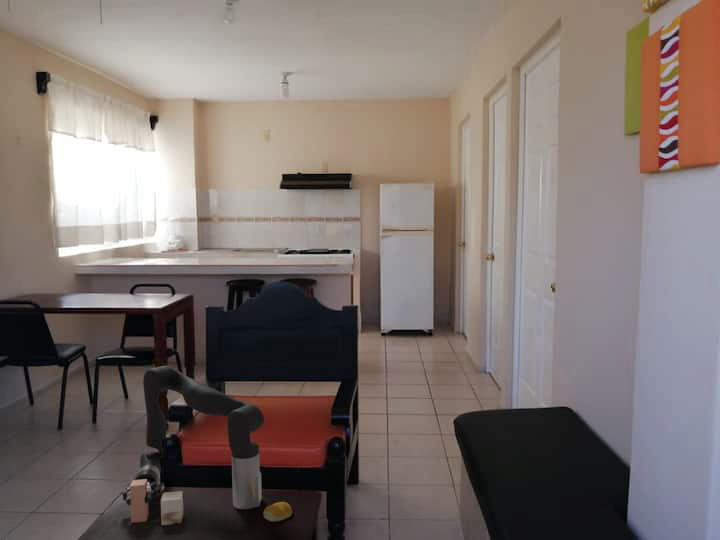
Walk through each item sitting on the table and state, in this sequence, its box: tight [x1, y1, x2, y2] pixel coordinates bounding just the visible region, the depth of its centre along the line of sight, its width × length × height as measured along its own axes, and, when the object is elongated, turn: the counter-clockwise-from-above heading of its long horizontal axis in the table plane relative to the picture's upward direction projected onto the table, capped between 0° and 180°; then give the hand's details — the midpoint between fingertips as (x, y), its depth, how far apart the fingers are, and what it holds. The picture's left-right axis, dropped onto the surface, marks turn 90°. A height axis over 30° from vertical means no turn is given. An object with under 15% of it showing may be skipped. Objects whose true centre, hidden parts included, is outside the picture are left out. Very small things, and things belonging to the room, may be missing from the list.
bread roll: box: [263, 501, 293, 523], centre depth 184 cm, size 8×9×4 cm
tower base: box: [160, 503, 184, 526], centre depth 182 cm, size 6×6×4 cm
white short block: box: [160, 490, 184, 514], centre depth 182 cm, size 6×6×4 cm
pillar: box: [129, 479, 149, 524], centre depth 183 cm, size 4×4×12 cm
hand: (137, 501), depth 180 cm, fingers closed on pillar, 4 cm apart
